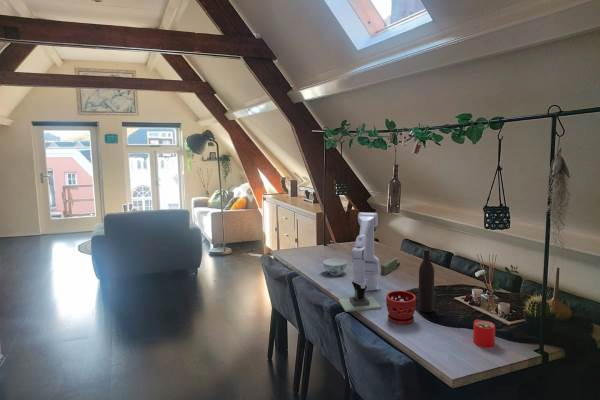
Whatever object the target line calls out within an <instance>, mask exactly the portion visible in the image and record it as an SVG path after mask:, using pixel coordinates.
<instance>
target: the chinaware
mask: <svg viewBox="0 0 600 400" xmlns="http://www.w3.org/2000/svg"><path fill="white" fill-rule="evenodd" d="M322 263H323V267H324V269H325V270H326V271H327V272H328V273H329V274H330V275H332V276H340V275H341V274H342V273H343V272H344V271H345V270H346V268H347V266H348V260H346V259H344V258H343V259H342V258H328V259H324V260H323V262H322Z"/></svg>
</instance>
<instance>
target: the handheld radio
mask: <svg viewBox="0 0 600 400" xmlns="http://www.w3.org/2000/svg"><path fill="white" fill-rule="evenodd" d="M400 265H401V263H400V262H398V257H396V256H395V257H393V258H392V259H390V260H388V261H386V262H384V263H383V264H380V275H381V276H386V275H388V274H389V273H390V272H392V271H394V270H396V269H397V268H398V266H400Z"/></svg>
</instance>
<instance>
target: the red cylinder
mask: <svg viewBox="0 0 600 400" xmlns="http://www.w3.org/2000/svg"><path fill="white" fill-rule="evenodd" d="M472 327H473V337H472V338H473V341H472V342H473V344H475V345H476V346H477V347H480V348H487V349H489V348H493V347H495V343H496V324H495V323H494V322H491V321H488V320H482V319H475V320H474V321H473V326H472Z"/></svg>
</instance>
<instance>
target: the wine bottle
mask: <svg viewBox="0 0 600 400" xmlns="http://www.w3.org/2000/svg"><path fill="white" fill-rule="evenodd" d="M430 254H431V249H430V248H429V249H428V248H425V249H424V250H423V260H422V261H421V264H420V265H419V268H418V311H419V312H420V311H422V312H421V313H423V312H432V311H433V312H434V309H435V268H434V265H433V263H432V261H431V257H430ZM433 312H432V313H433Z"/></svg>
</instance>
